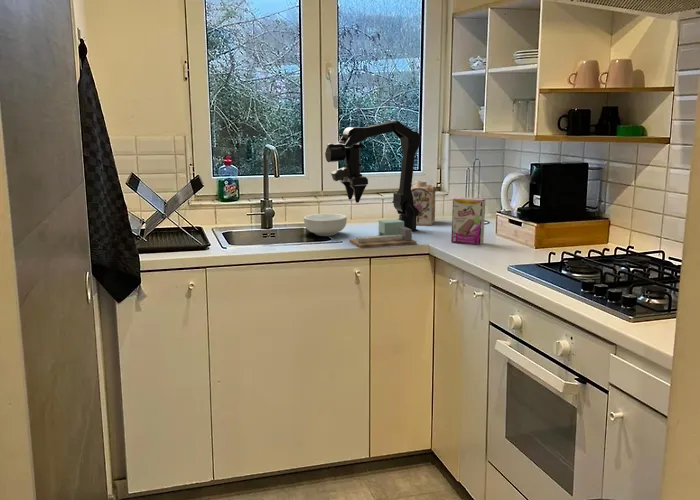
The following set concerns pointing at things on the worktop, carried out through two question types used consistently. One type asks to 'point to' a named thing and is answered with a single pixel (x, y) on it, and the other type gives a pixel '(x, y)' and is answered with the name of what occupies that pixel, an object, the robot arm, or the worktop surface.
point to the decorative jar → (424, 202)
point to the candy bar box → (468, 220)
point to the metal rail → (379, 238)
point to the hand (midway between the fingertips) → (353, 201)
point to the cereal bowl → (325, 223)
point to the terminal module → (389, 227)
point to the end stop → (405, 233)
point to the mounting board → (382, 243)
